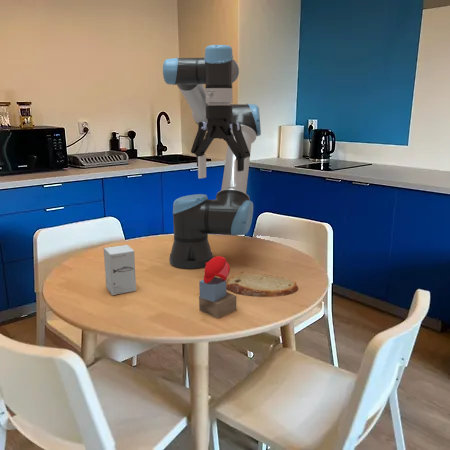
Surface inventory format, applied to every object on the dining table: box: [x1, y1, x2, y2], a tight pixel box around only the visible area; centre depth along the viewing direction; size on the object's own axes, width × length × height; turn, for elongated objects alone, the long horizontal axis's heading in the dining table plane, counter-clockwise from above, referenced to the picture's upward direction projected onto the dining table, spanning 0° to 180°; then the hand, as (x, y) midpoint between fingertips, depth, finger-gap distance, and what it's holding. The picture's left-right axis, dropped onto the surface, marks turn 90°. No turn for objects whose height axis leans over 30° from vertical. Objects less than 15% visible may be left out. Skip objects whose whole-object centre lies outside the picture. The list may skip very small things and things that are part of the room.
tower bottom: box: [198, 291, 237, 320], centre depth 121 cm, size 7×7×4 cm
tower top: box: [199, 276, 227, 302], centre depth 119 cm, size 5×5×4 cm
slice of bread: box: [226, 271, 299, 298], centre depth 136 cm, size 18×18×4 cm
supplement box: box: [103, 244, 137, 296], centre depth 133 cm, size 7×7×13 cm
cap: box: [203, 255, 231, 283], centre depth 118 cm, size 8×6×6 cm
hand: (219, 180), depth 132 cm, fingers open, 13 cm apart
